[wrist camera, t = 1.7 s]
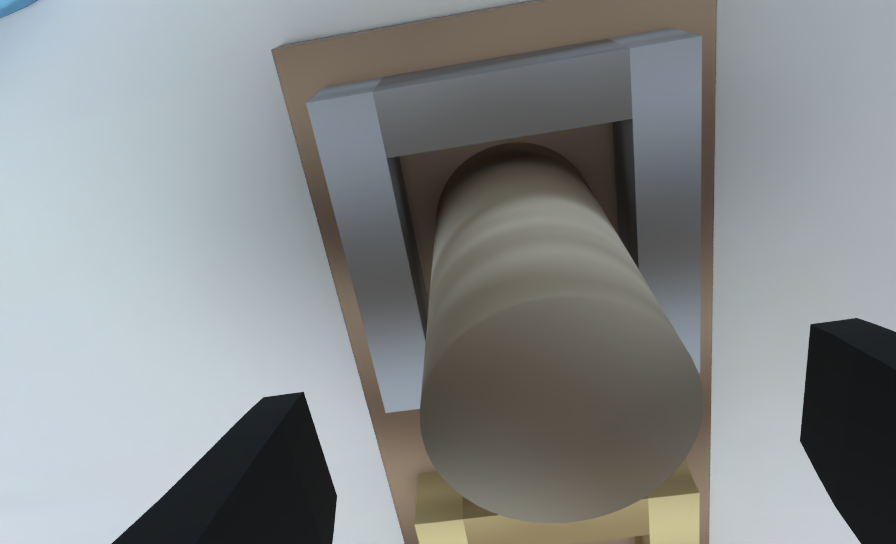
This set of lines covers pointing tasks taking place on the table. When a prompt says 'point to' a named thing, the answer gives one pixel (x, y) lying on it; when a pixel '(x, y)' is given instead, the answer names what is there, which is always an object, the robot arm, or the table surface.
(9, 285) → the table surface
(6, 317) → the table surface
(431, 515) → the dock
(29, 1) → the chair
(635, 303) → the beige cylinder
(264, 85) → the table surface
